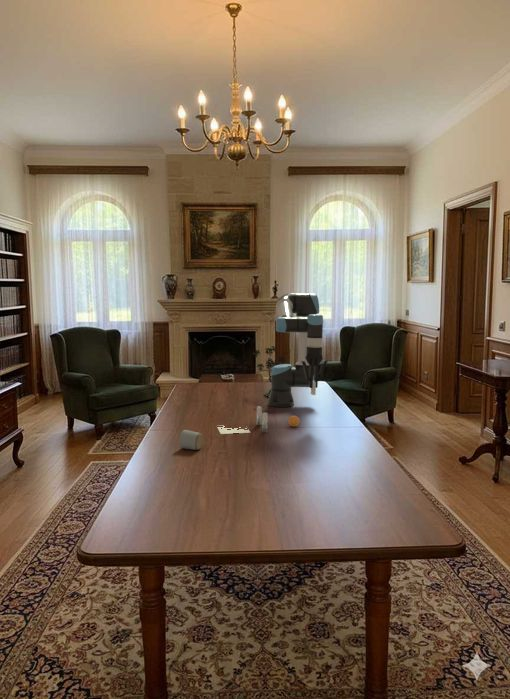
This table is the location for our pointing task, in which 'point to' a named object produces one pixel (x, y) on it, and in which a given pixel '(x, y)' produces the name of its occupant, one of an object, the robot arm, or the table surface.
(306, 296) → the robot arm
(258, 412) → the post
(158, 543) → the table surface
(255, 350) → the bonsai tree
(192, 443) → the grey cylinder
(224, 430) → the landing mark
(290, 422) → the ball
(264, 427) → the post
